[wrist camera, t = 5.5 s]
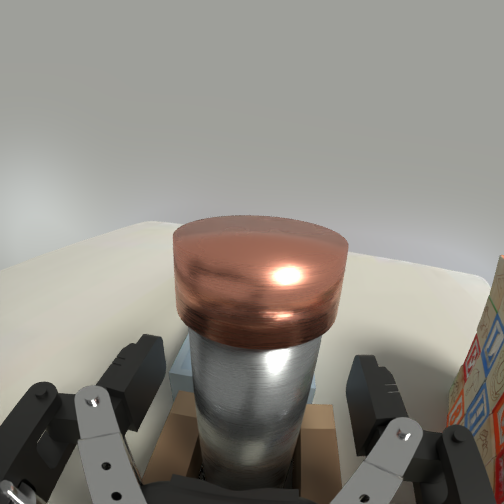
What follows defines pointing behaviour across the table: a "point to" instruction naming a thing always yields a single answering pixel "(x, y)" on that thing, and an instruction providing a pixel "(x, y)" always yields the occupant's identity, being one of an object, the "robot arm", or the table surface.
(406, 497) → the table surface
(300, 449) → the socket block
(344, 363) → the table surface
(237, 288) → the pin
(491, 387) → the stack of blocks
